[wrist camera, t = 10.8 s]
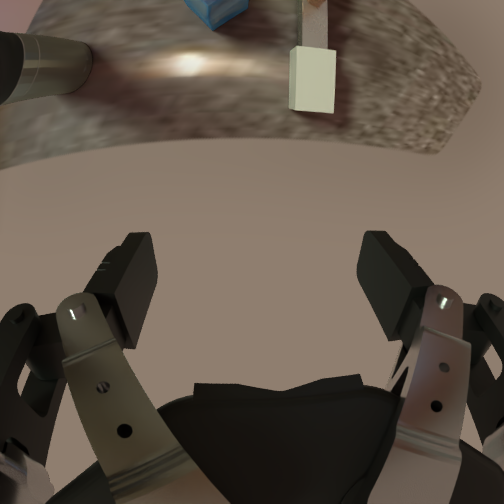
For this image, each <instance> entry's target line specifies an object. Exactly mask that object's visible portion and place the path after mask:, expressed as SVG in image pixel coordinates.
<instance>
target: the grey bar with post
mask: <svg viewBox="0 0 504 504" xmlns="http://www.w3.org/2000/svg"><path fill="white" fill-rule="evenodd" d="M297 46H304V47H313V48H321V49H328V12H327V0H298V42H297Z"/></svg>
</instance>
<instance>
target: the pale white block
mask: <svg viewBox="0 0 504 504" xmlns="http://www.w3.org/2000/svg"><path fill="white" fill-rule="evenodd" d="M335 73H336V51H335V50H328V49H321V48H313V47H304V46H296V47H295V48H293V49H292V50H291V51H290V78H289V108H290V109H293V110H298V111H312V112H324V113H334V97H335Z"/></svg>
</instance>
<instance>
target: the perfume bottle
mask: <svg viewBox="0 0 504 504" xmlns="http://www.w3.org/2000/svg"><path fill="white" fill-rule="evenodd" d="M184 1H185V3H186V4H187V6H188V7H189V8H190V9H191V10H192V11H193V12H194V13H195V14H196V15H198V16H199V17H200V19H201V20H202V21H203V22H204V23H205V24H206V25H207V26H208V27H209V28H210V29H211V30H212V31H214V30H215V29H216V28H218V27H219V26H221V25H222V24H224V23H225V22H227V21H228V20H230V19H232V18H233V17H235V16H236V15H238V14H240V13H241V12H243V11H244V10H246V9H248V2H249V0H184Z"/></svg>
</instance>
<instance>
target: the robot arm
mask: <svg viewBox="0 0 504 504" xmlns="http://www.w3.org/2000/svg"><path fill="white" fill-rule="evenodd" d="M91 67H92V54H91V51H90V49H89V47H88V46H87V45H86V44H85V43H82V42H79V41H74V40H69V39H63V38H57V37H50V36H43V35H34V34H23V33H9V32H2V31H0V106H2V105H6V104H10V103H14V102H18V101H23V100H28V99H34V98H39V97H45V96H52V95H59V94H67V93H71V92H73V91H75V90H77V89H78V88H79V87H80V86H81V85H82V84H83V83H84V82H85V81H86V79H87V78H88V76H89V73H90V71H91ZM157 274H158V271H157V265H156V260H155V255H154V249H153V243H152V238H151V235H150V233H149V232H137V233H129V234H128V235H127V237H126V238H125V240H124V241H123V243H122V244H121V246H116V247H115V248H114V249H112V250H111V251H110V252H108V253H107V255H106V256H105V258H104V259H103V261H102V264H100V265H99V267H98V268H97V271H95V273H94V275H93V276H92V278H91V279H90V281H89V283H88V284H87V286H86V288H85V289H84V291H83V292H82V293H76V294H73V295H71V296H69V297H67V298H66V299H64V300H63V301H62V302H61V303H60V305H59V306H58V308H57V310H56V313H51V314H45V315H40V316H38V314H37V312H36V310H35V308H34V307H33V306H32V305H31V304H28V303H23V304H19V305H17V306H15V307H13V308H12V309H10V310H9V311H8V312H7V313H6V314H5V316H4V317H3V319H2V320H1V322H0V504H504V301H503V300H502V299H500V298H499V297H497V296H495V295H493V294H489V293H485V294H482V295H481V297H480V298H479V300H478V303H477V304H476V305H472V304H466V303H463V301H462V299H461V297H460V296H459V295H458V294H457V293H456V292H455V291H454V290H452V289H450V288H449V287H446V286H443V285H434V283H433V282H432V281H431V279H430V278H429V277H428V276H427V275H426V273H425V272H424V271H423V269H422V268H421V267H420V266H418V263H417V262H416V261H415V260H414V259H413V257H412V256H411V255H410V254H409V252H408V251H407V250H406V249H404V248H403V247H401V246H400V245H398V244H397V243H395V242H394V240H393V239H392V238H391V237H390V236H389V234H388V233H387V232H386V231H366V232H365V234H364V237H363V241H362V246H361V250H360V255H359V260H358V263H357V278H358V281H359V283H360V285H361V287H362V289H363V291H364V293H365V294H366V296H367V298H368V300H369V302H370V304H371V306H372V308H373V310H374V312H375V314H376V316H377V318H378V320H379V322H380V324H381V326H382V328H383V331H384V333H385V335H386V336H387V339H388V341H395V340H402V342H403V343H402V345H401V347H400V349H399V352H398V355H397V358H396V361H395V364H394V367H393V369H392V372H391V375H390V377H389V380H388V383H387V385H386V388H385V390H384V389H381V388H377V387H373V386H367V385H363V382H362V379H361V376H360V374H355V375H348V376H341V377H332V378H324V379H320V380H317V381H314V382H311V383H308V384H305V385H302V386H299V387H295V388H293V389H289V390H286V391H273V390H268V389H262V388H256V387H251V386H246V385H240V384H208V383H194V392H193V395H190V396H185V397H182V398H179V399H176V400H174V401H171V402H169V403H167V404H165V405H163V406H161V407H160V408H158V409H157V410H156V409H155V407H154V406H153V404H152V402H151V401H150V399H149V398H148V396H147V394H146V393H145V391H144V390H143V388H142V386H141V384H140V383H139V381H138V379H137V378H136V376H135V374H134V372H133V370H132V369H131V367H130V365H129V363H128V361H127V359H126V358H125V356H124V354H123V349H124V348H126V349H127V348H128V349H135V348H136V345H137V342H138V339H139V335H140V332H141V329H142V325H143V323H144V320H145V317H146V314H147V311H148V308H149V305H150V302H151V299H152V296H153V293H154V290H155V287H156V284H157V278H158V275H157ZM491 344H492V345H493V347H494V349H495V350H496V352H497V354H498V356H499V357H500V359H501V361H502V372H501V375H500V376H499V377H498V378H497V380H495V378H494V376H493V374H492V372H491V370H490V368H489V366H488V364H487V362H486V361H485V359H484V357H483V356H484V355H485V353H486V352H487V350H488V349H489V347H490V346H491ZM25 363H26V365H27V366H28V367H29V368H30V370H31V371H30V373H29V376H28V379H27V381H26V383H25V386H24V389H23V391H22V394H21V397H20V395H19V393H18V389H17V382H18V379H19V376H20V374H21V372H22V369H23V367H24V365H25ZM66 383H68V386H69V389H70V392H71V395H72V398H73V401H74V404H75V407H76V410H77V412H78V415H79V418H80V420H81V423H82V425H83V428H84V430H85V432H86V435H87V437H88V439H89V442H90V444H91V446H92V449H93V451H94V453H95V455H96V457H97V459H98V460H97V461H96V462H95V463H93V464H92V465H91V466H90V467H89V468H87V469H86V470H85V471H84V472H83V473H81V474H80V475H79V476H78V477H76V478H75V479H74V480H73V481H71V482H70V483H69V484H68V485H66V486H65V487H64V488H62V489H61V490H60V491H59V492H57V493H56V494H55V495H53V494H54V487H53V485H52V484H51V482H50V478H49V475H48V473H47V471H46V469H45V465H46V460H47V454H48V450H49V445H50V441H51V436H52V433H53V429H54V425H55V421H56V417H57V413H58V410H59V406H60V403H61V399H62V396H63V393H64V390H65V386H66ZM466 402H467V405H468V407H469V410H470V412H471V415H472V418H473V420H474V423H475V426H476V428H477V431H478V434H479V437H480V440H481V443H482V446H483V452H482V453H481V452H479V451H478V450H476V449H475V448H473V447H472V446H470V445H469V444H467V443H466V442H464V441H463V440H461V439H460V435H461V430H462V424H463V419H464V414H465V407H466Z"/></svg>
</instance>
